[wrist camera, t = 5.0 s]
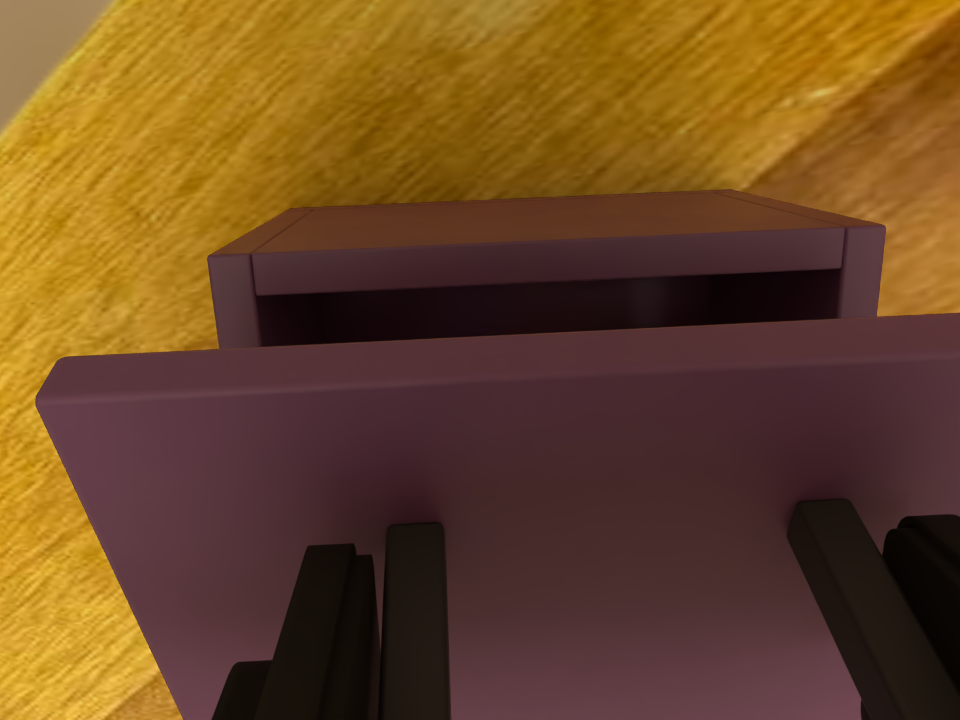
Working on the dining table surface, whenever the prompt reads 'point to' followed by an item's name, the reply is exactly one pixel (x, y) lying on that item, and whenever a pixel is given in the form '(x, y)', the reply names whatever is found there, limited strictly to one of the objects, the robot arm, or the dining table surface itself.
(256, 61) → the dining table surface
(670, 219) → the box
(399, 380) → the lid
